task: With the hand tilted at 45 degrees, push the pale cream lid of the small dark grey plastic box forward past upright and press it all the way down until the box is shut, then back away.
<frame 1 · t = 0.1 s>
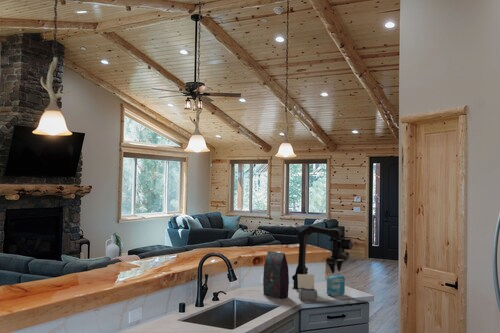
hand: (336, 272, 294), 15 cm above the worktop, tool pointing down, fingers open, 9 cm apart
lid: (305, 281, 286), point 10 cm above the worktop, hinge at 105.0°
storage box: (307, 299, 280), on the worktop
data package: (335, 295, 294), on the worktop
dark coffee bag: (275, 296, 288), on the worktop
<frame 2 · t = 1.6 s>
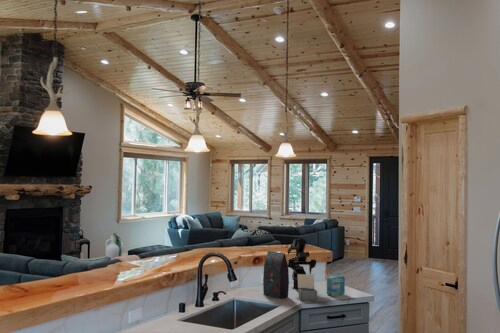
hand: (303, 273, 294), 13 cm above the worktop, tool tilted 45°, fingers open, 9 cm apart
nothing on the worktop moved.
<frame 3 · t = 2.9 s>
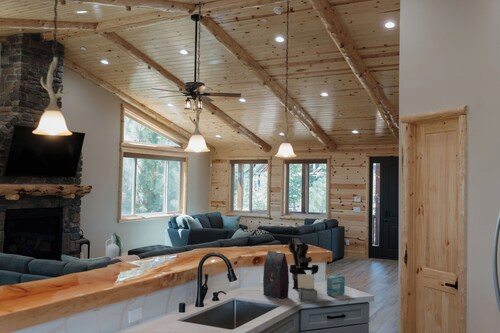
hand: (305, 279, 287), 11 cm above the worktop, tool tilted 45°
lid: (305, 281, 286), point 10 cm above the worktop, hinge at 103.0°, touching gripper
everything else where it was.
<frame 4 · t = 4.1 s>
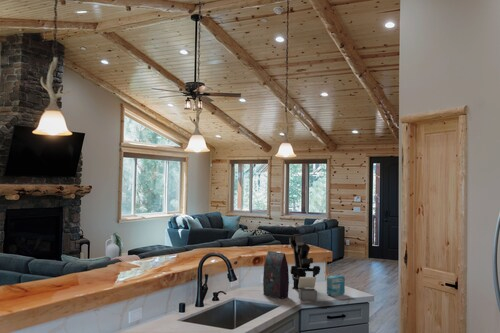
hand: (307, 281, 282), 11 cm above the worktop, tool tilted 45°
lid: (307, 282, 282), point 10 cm above the worktop, hinge at 56.4°, touching gripper
everything else where it was.
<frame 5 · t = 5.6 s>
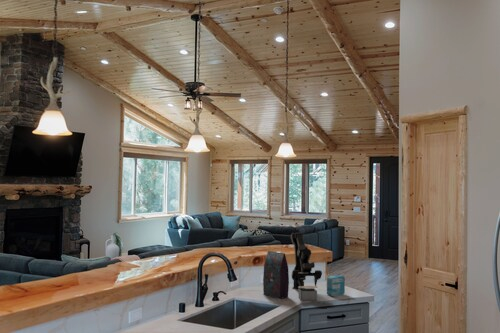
hand: (308, 286, 278), 9 cm above the worktop, tool tilted 45°
lid: (307, 287, 280), point 8 cm above the worktop, hinge at 11.9°, touching gripper
everything else where it was.
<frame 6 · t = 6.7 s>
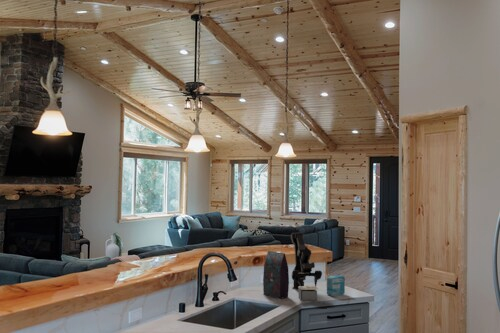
hand: (308, 286, 278), 9 cm above the worktop, tool tilted 45°, fingers open, 9 cm apart
lid: (307, 287, 280), point 7 cm above the worktop, hinge at 5.0°
everything else where it was.
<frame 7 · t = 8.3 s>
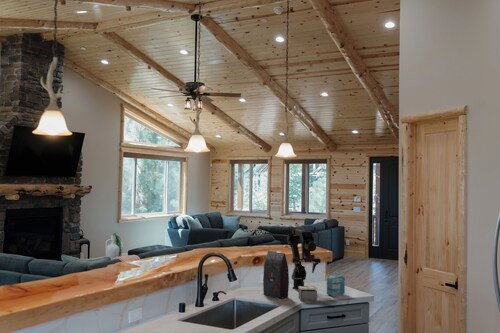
hand: (306, 273, 298), 13 cm above the worktop, tool pointing down, fingers open, 9 cm apart
nothing on the worktop moved.
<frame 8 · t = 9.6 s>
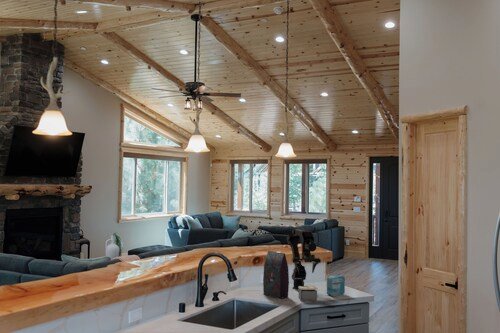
hand: (305, 273, 298), 13 cm above the worktop, tool pointing down, fingers open, 9 cm apart
nothing on the worktop moved.
at the end: lid at +5° (first picture: +105°); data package moved 0.3 cm from its start; dark coffee bag moved 0.3 cm from its start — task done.
